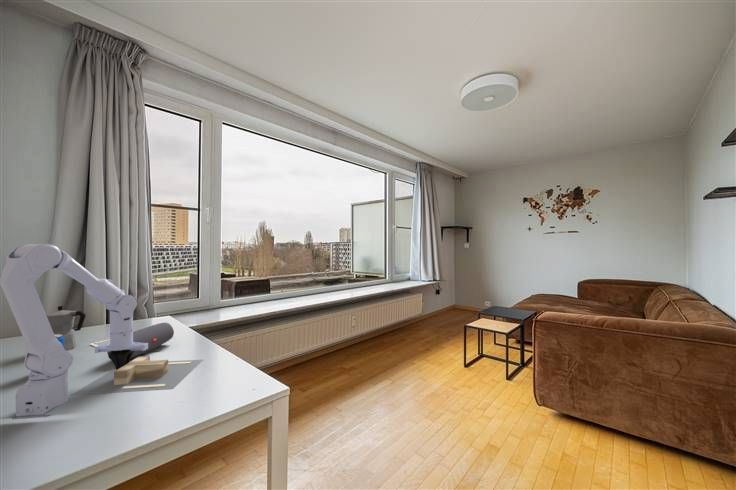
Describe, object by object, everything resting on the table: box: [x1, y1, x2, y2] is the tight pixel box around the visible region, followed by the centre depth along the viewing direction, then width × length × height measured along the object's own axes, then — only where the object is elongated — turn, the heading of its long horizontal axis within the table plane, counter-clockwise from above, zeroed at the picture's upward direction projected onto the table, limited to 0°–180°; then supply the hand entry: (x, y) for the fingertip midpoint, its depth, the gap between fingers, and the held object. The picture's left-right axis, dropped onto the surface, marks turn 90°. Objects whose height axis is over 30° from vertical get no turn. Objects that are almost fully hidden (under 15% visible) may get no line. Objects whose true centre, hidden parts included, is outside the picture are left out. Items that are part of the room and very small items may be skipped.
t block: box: [114, 355, 169, 385], centre depth 97 cm, size 12×12×4 cm
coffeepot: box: [45, 305, 87, 352], centre depth 123 cm, size 15×9×18 cm, turn 101°
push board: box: [71, 359, 204, 396], centre depth 97 cm, size 22×27×1 cm
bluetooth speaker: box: [107, 322, 175, 359], centre depth 118 cm, size 23×9×10 cm, turn 176°
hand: (122, 373), depth 96 cm, fingers closed
